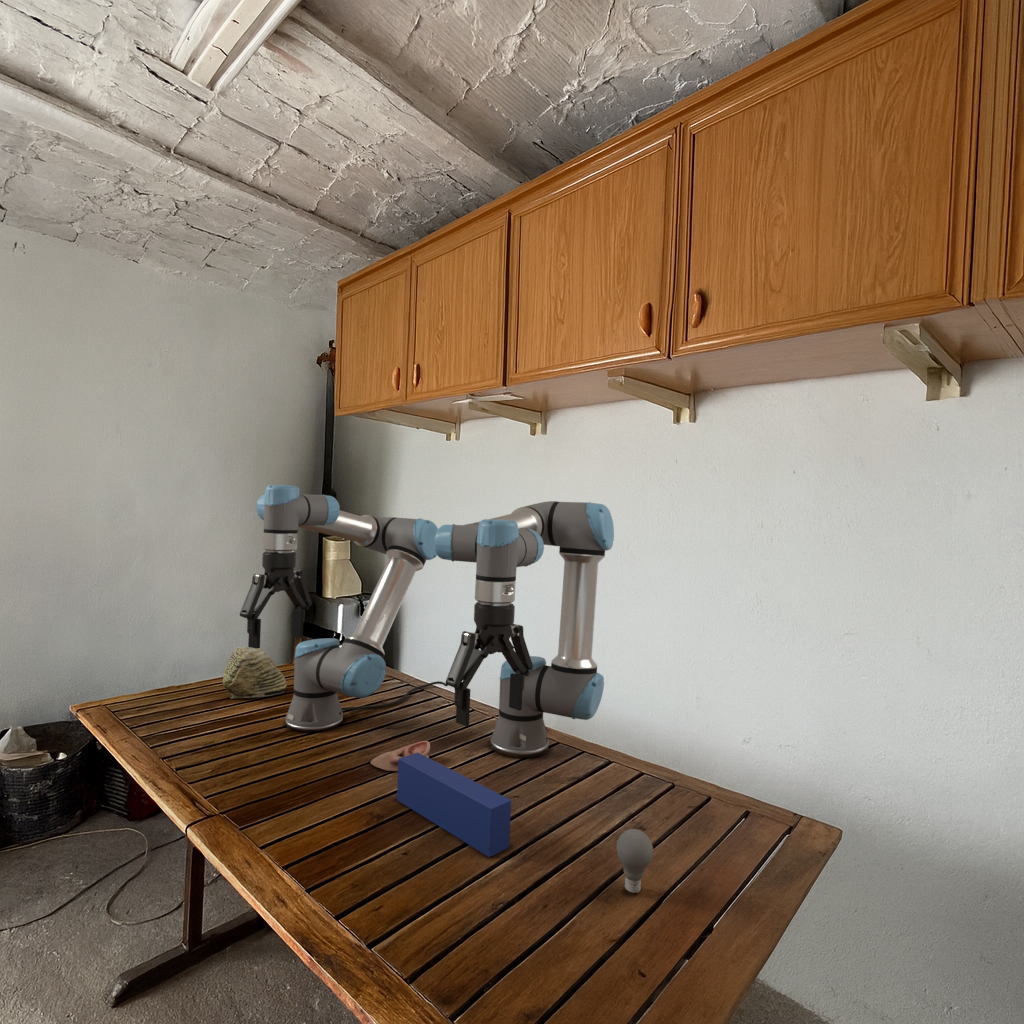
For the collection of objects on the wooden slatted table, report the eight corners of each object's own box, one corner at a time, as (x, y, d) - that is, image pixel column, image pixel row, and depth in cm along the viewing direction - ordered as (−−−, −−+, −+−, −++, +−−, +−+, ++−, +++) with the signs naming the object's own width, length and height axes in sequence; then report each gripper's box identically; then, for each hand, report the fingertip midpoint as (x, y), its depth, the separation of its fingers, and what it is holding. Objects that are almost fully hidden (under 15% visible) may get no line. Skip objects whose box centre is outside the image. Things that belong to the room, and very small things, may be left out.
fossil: (218, 695, 195) (220, 647, 195) (278, 685, 208) (279, 640, 207) (228, 703, 189) (230, 653, 188) (289, 692, 201) (290, 645, 201)
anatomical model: (365, 751, 148) (384, 733, 160) (364, 767, 148) (384, 749, 160) (419, 758, 146) (435, 740, 157) (418, 775, 146) (434, 756, 157)
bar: (396, 800, 134) (398, 758, 134) (416, 792, 137) (417, 752, 137) (489, 857, 114) (491, 808, 114) (509, 847, 117) (511, 799, 117)
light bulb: (610, 879, 108) (613, 822, 108) (644, 879, 109) (647, 822, 109) (619, 902, 102) (622, 840, 102) (655, 901, 103) (658, 840, 103)
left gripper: (250, 555, 134) (246, 655, 135) (328, 549, 157) (325, 634, 158) (224, 553, 137) (220, 650, 138) (304, 547, 160) (301, 630, 161)
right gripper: (456, 612, 106) (451, 737, 106) (553, 599, 124) (548, 707, 124) (429, 605, 111) (424, 725, 112) (525, 594, 129) (521, 697, 130)
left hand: (276, 642), depth 148 cm, fingers open, 13 cm apart
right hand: (489, 716), depth 118 cm, fingers open, 13 cm apart
